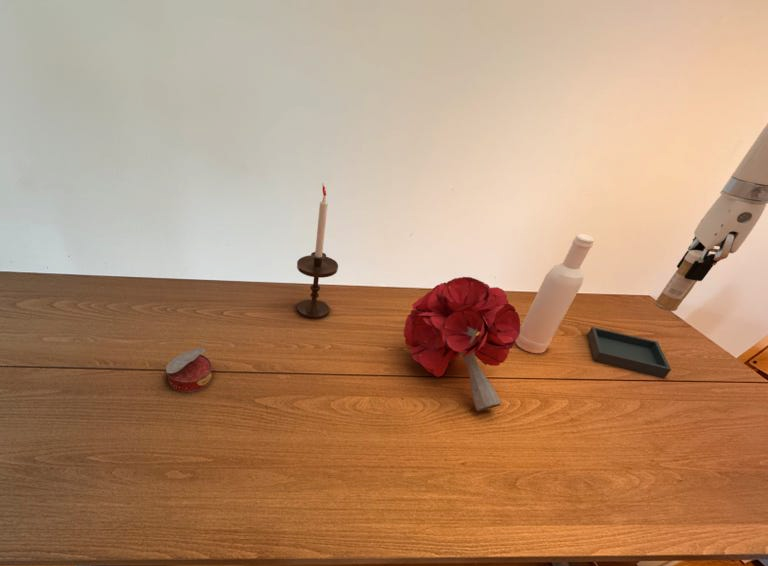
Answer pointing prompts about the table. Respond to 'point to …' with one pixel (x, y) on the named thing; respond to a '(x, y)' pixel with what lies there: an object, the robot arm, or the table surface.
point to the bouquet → (463, 331)
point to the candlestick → (317, 269)
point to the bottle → (554, 298)
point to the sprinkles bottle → (678, 284)
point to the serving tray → (628, 352)
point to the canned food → (189, 371)
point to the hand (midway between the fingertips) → (688, 273)
